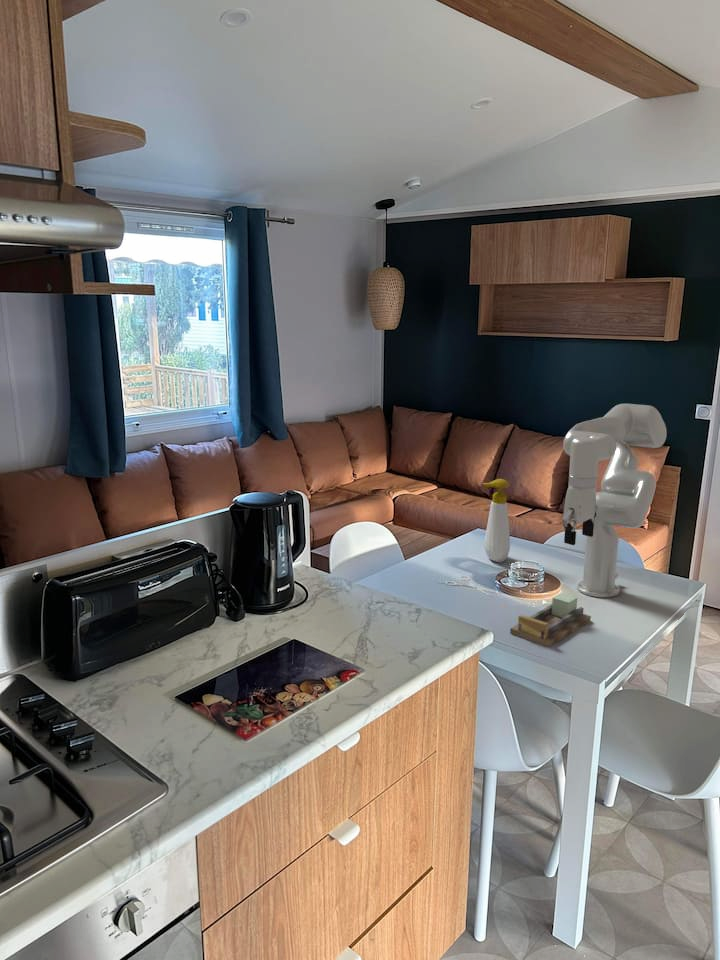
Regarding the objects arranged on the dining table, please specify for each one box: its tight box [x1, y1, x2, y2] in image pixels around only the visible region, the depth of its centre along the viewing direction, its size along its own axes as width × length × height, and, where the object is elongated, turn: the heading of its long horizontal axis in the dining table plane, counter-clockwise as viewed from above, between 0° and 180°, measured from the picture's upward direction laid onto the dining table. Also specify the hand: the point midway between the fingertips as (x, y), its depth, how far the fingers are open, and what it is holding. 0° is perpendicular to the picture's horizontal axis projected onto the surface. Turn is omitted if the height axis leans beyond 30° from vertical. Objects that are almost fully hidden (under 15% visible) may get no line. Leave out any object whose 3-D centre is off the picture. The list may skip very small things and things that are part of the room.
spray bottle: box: [481, 478, 511, 563], centre depth 257 cm, size 13×10×29 cm
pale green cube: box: [551, 592, 578, 618], centre depth 210 cm, size 5×5×5 cm
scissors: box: [438, 575, 502, 598], centre depth 235 cm, size 11×1×20 cm
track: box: [509, 604, 592, 648], centre depth 205 cm, size 23×12×6 cm, turn 137°
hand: (578, 539), depth 210 cm, fingers open, 9 cm apart
